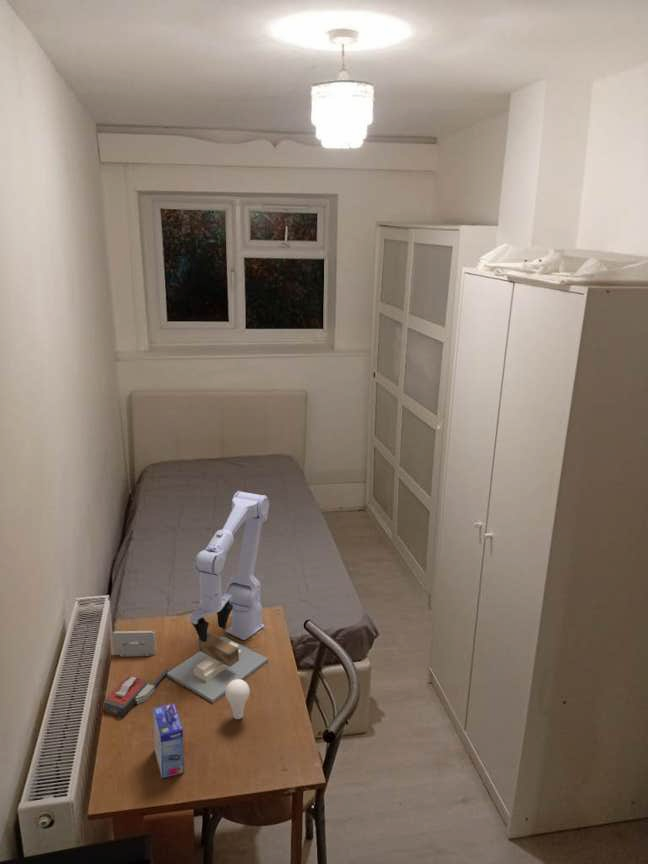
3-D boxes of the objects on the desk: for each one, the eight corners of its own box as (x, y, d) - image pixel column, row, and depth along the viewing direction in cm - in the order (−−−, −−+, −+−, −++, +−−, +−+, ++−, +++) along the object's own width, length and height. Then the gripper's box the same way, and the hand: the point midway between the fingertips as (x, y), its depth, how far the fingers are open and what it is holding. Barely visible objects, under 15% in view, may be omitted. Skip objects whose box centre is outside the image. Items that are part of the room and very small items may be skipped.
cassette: (113, 657, 191) (111, 634, 189) (115, 653, 193) (112, 630, 191) (155, 656, 192) (153, 633, 190) (156, 652, 194) (154, 629, 191)
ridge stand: (222, 638, 200) (222, 625, 199) (267, 661, 190) (267, 648, 189) (167, 676, 183) (166, 662, 182) (213, 703, 173) (212, 689, 172)
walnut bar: (238, 660, 183) (238, 648, 182) (229, 667, 181) (229, 654, 179) (208, 644, 190) (207, 632, 189) (199, 650, 187) (198, 638, 186)
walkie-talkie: (128, 723, 166) (171, 674, 185) (126, 708, 165) (170, 661, 183) (99, 714, 169) (144, 667, 187) (97, 700, 168) (143, 654, 186)
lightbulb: (240, 706, 172) (239, 670, 169) (255, 718, 168) (254, 682, 165) (221, 717, 168) (220, 681, 165) (235, 730, 164) (234, 693, 161)
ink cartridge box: (186, 773, 151) (183, 721, 147) (161, 780, 149) (158, 728, 145) (177, 743, 160) (174, 693, 155) (154, 749, 158) (150, 699, 153)
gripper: (218, 576, 190) (220, 617, 194) (181, 598, 178) (183, 641, 182) (236, 583, 186) (238, 625, 190) (199, 606, 174) (201, 650, 179)
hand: (212, 633), depth 186 cm, fingers open, 7 cm apart
